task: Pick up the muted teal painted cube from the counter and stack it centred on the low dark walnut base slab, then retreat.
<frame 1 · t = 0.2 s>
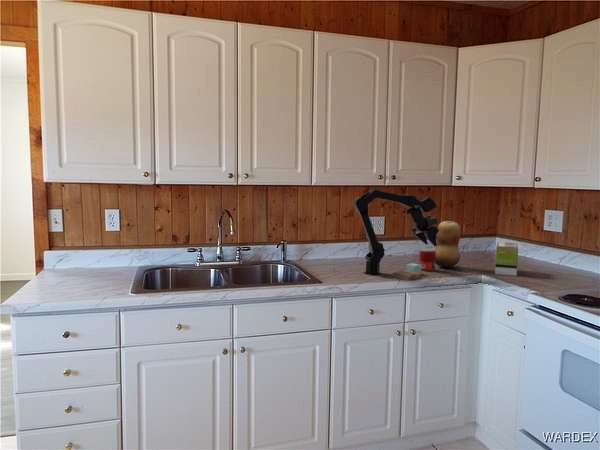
hand: (431, 244, 208), 14 cm above the countertop, tool tilted 30°, fingers open, 9 cm apart
butternut squash: (446, 267, 222), on the countertop
walnut base: (406, 277, 199), on the countertop
canned food: (426, 270, 216), on the countertop
tea box: (505, 272, 212), on the countertop
teal block: (413, 274, 206), on the countertop
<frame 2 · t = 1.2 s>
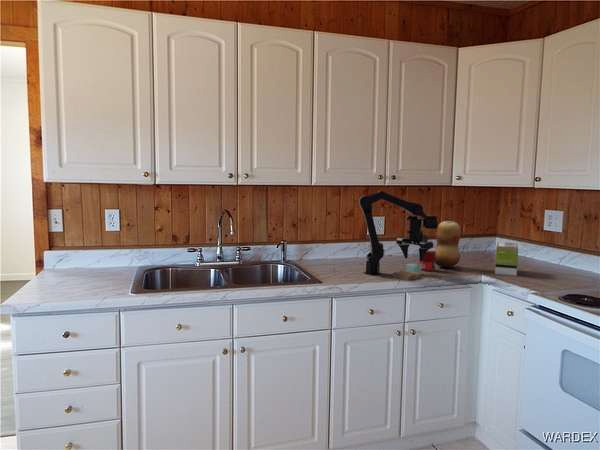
hand: (413, 260, 205), 7 cm above the countertop, tool pointing down, fingers open, 9 cm apart
nothing on the countertop moved.
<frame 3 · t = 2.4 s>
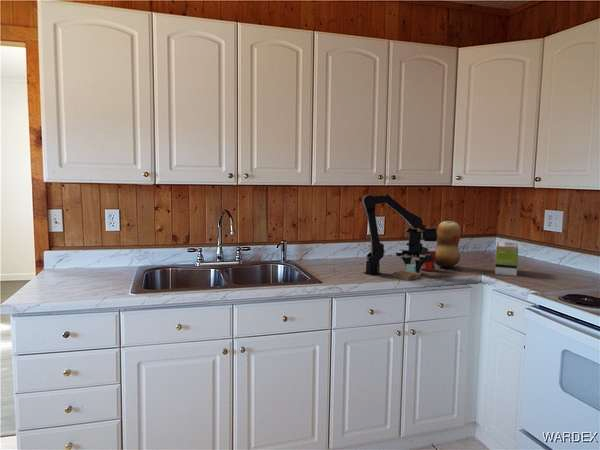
hand: (413, 272, 206), 1 cm above the countertop, tool pointing down, fingers closed on teal block, 5 cm apart
teal block: (413, 274, 206), on the countertop, touching gripper
everything else where it was.
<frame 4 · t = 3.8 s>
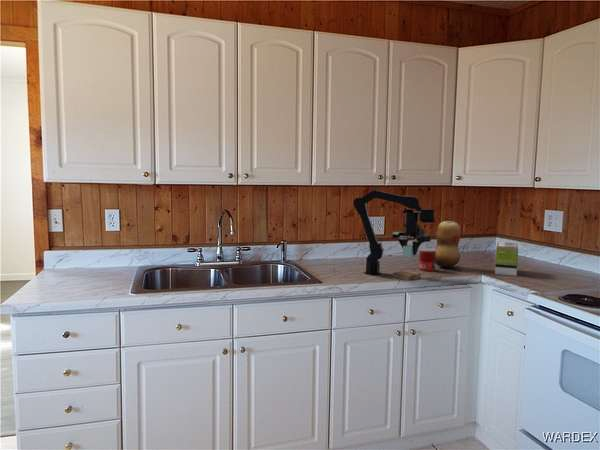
hand: (410, 254, 201), 11 cm above the countertop, tool pointing down, fingers closed on teal block, 5 cm apart
teal block: (409, 256, 201), point 10 cm above the countertop, touching gripper
everything else where it was.
when the fingers open (4 cm above the countertop, at t = 5.6 s): teal block drops 1 cm, resting on walnut base.
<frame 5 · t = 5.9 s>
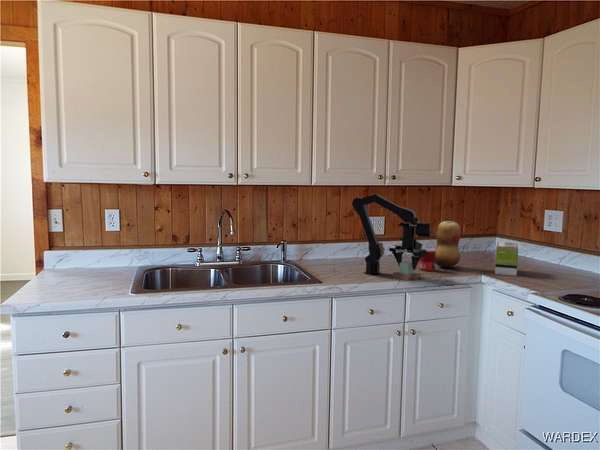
hand: (407, 268, 199), 4 cm above the countertop, tool pointing down, fingers open, 8 cm apart
teal block: (406, 273, 199), point 2 cm above the countertop, touching walnut base
everything else where it was.
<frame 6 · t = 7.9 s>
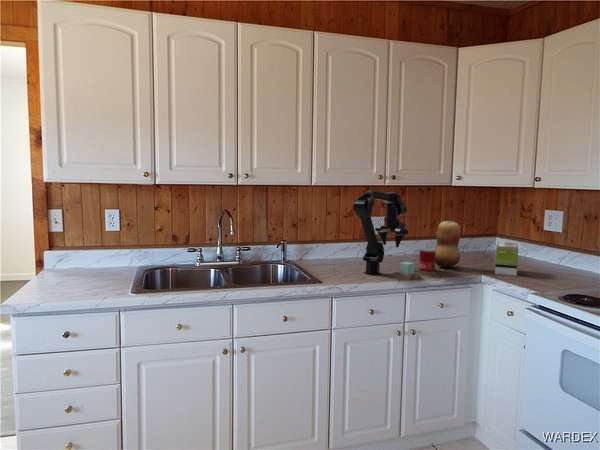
hand: (390, 246, 216), 12 cm above the countertop, tool pointing down, fingers open, 9 cm apart
nothing on the countertop moved.
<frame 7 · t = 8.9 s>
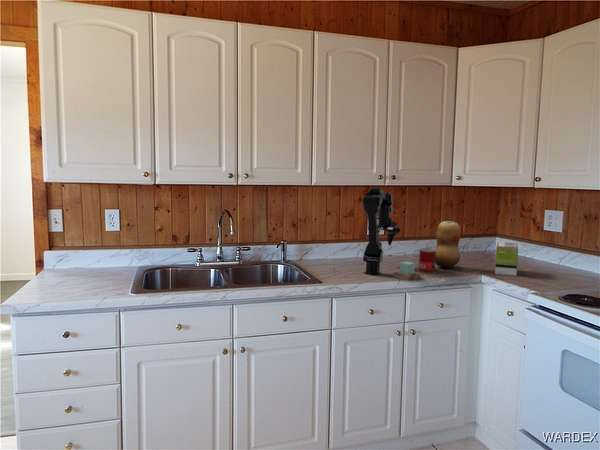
hand: (383, 244, 224), 12 cm above the countertop, tool pointing down, fingers open, 9 cm apart
nothing on the countertop moved.
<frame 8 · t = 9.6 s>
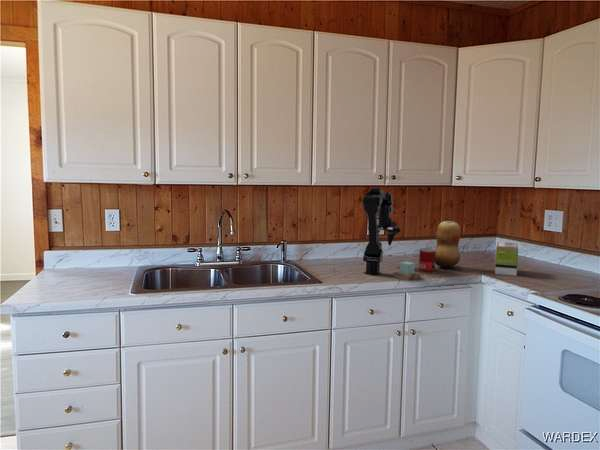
hand: (383, 244, 224), 12 cm above the countertop, tool pointing down, fingers open, 9 cm apart
nothing on the countertop moved.
at the end: teal block 0.0 cm off-centre on the walnut base, point 2.0 cm above the walnut base's base; teal block tilted 0°; the gripper is holding nothing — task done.
